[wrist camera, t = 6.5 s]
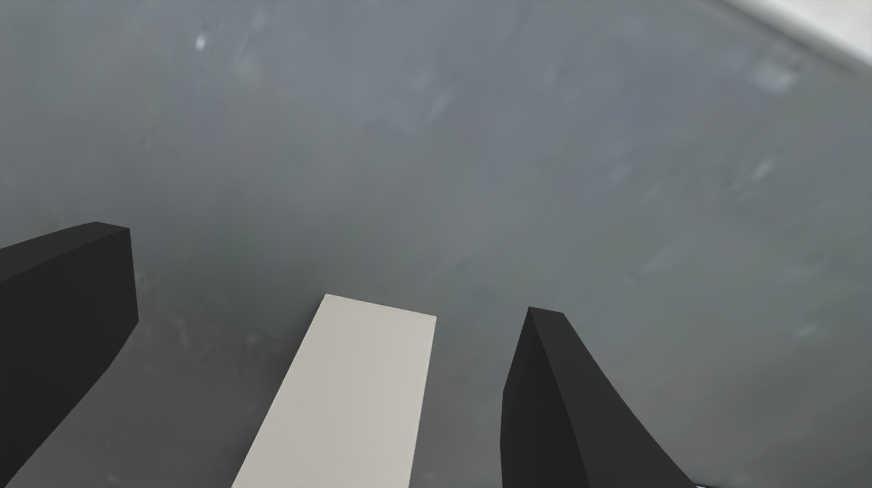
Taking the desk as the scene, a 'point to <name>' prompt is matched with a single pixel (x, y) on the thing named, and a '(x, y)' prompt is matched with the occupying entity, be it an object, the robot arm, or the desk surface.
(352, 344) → the domino
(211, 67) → the desk surface
